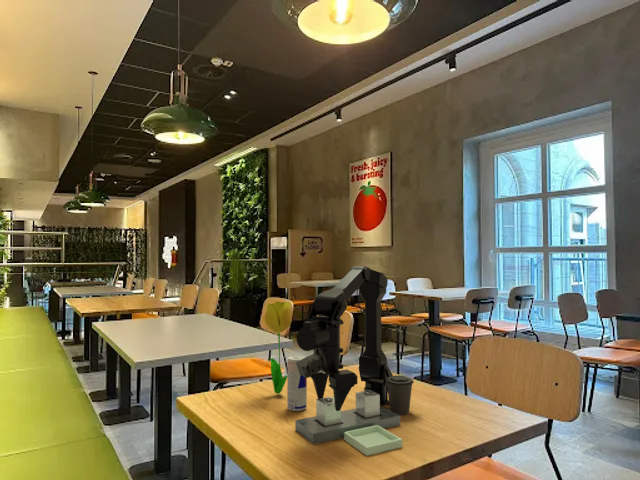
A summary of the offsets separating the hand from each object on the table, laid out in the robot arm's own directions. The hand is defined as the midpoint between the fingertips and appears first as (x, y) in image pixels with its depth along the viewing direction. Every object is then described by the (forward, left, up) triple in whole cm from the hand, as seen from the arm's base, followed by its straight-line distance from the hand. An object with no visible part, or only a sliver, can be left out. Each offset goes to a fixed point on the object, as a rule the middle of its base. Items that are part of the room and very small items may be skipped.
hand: (328, 405), depth 116 cm
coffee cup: (-25, -3, -7) cm, 26 cm away
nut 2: (-12, 0, -7) cm, 14 cm away
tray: (-6, +11, -7) cm, 14 cm away
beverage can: (0, -19, -7) cm, 20 cm away
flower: (0, -33, -7) cm, 34 cm away
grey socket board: (-6, 0, -7) cm, 9 cm away
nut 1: (0, 0, -7) cm, 7 cm away
